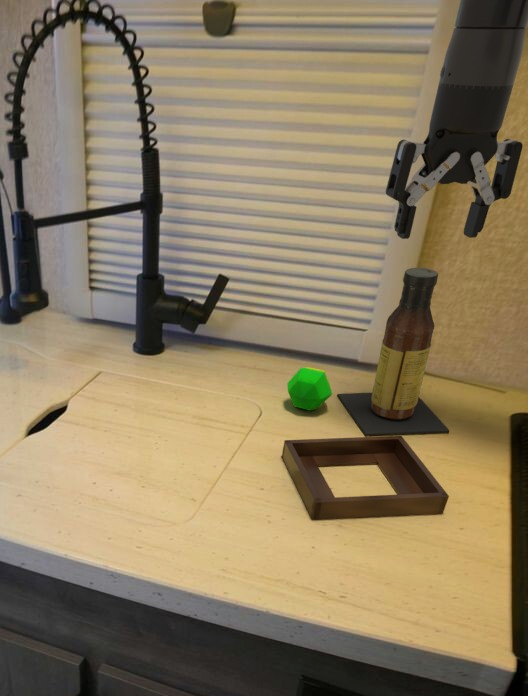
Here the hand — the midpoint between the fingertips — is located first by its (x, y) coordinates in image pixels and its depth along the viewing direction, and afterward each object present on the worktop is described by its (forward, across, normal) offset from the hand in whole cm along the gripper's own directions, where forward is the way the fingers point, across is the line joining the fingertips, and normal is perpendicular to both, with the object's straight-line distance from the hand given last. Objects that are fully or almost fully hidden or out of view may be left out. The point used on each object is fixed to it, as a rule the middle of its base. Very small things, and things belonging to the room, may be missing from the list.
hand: (436, 236), depth 82 cm
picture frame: (+24, -11, -17) cm, 32 cm away
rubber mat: (+24, 0, 0) cm, 25 cm away
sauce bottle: (+24, 0, 0) cm, 24 cm away
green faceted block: (+25, -11, +4) cm, 27 cm away
